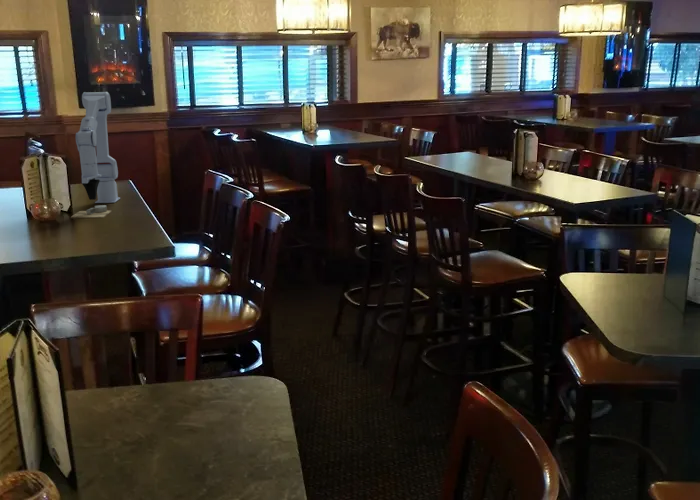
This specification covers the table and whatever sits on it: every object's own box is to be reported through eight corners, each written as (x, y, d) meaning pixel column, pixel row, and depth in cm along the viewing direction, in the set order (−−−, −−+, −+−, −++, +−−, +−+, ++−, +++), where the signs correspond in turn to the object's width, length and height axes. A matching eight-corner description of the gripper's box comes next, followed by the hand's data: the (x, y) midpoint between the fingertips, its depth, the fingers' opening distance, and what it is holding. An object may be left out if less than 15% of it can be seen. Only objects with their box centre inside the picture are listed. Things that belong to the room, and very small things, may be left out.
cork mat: (79, 212, 263) (79, 211, 263) (111, 211, 264) (111, 210, 264) (70, 218, 253) (70, 217, 252) (103, 217, 253) (103, 216, 253)
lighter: (106, 205, 265) (106, 208, 258) (106, 209, 266) (106, 213, 258) (86, 206, 263) (86, 210, 256) (87, 210, 263) (86, 214, 256)
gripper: (94, 166, 250) (98, 202, 254) (105, 160, 264) (108, 195, 267) (74, 166, 250) (78, 203, 253) (86, 161, 264) (90, 195, 267)
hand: (92, 199), depth 260 cm, fingers closed
